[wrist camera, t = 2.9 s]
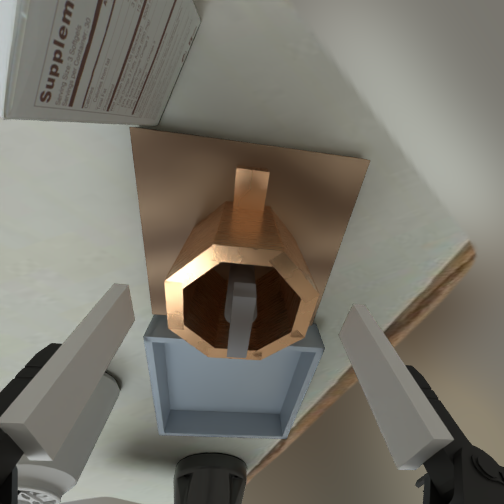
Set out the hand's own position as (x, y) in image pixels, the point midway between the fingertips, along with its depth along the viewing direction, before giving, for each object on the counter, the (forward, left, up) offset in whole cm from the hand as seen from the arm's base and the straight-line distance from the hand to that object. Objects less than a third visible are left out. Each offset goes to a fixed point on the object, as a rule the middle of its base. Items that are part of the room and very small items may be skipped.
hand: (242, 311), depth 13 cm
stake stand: (0, 0, -10) cm, 10 cm away
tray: (-21, 0, -10) cm, 23 cm away
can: (-25, +19, -10) cm, 33 cm away
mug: (+1, 0, -8) cm, 8 cm away
